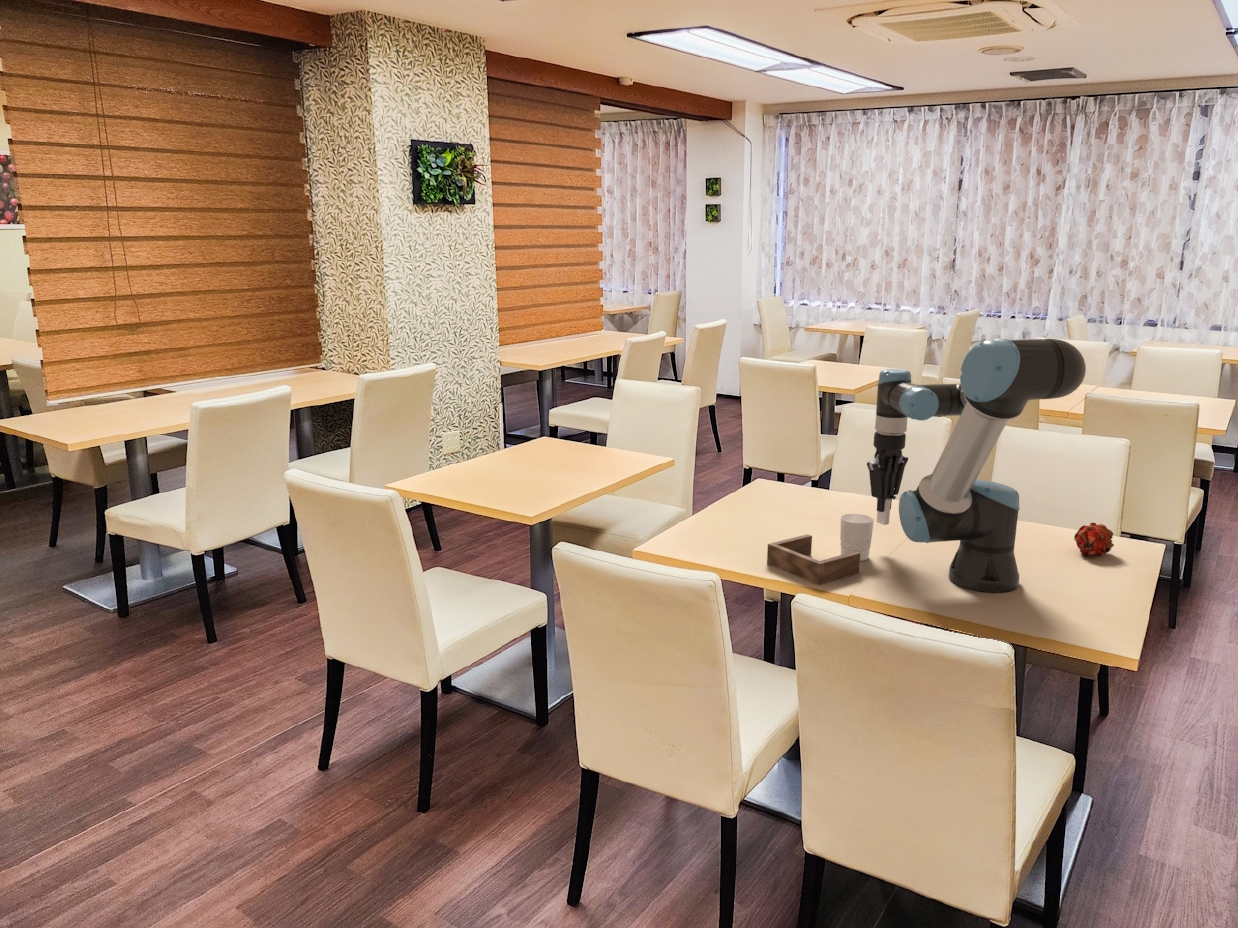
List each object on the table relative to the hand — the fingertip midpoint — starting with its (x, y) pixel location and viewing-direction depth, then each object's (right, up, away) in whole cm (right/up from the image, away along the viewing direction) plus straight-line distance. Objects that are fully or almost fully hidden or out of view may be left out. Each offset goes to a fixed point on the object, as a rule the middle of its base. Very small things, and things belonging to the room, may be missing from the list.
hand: (882, 522), depth 235 cm
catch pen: (-20, -10, -12) cm, 25 cm away
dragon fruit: (+52, -8, -2) cm, 53 cm away
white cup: (-8, -8, -4) cm, 12 cm away
